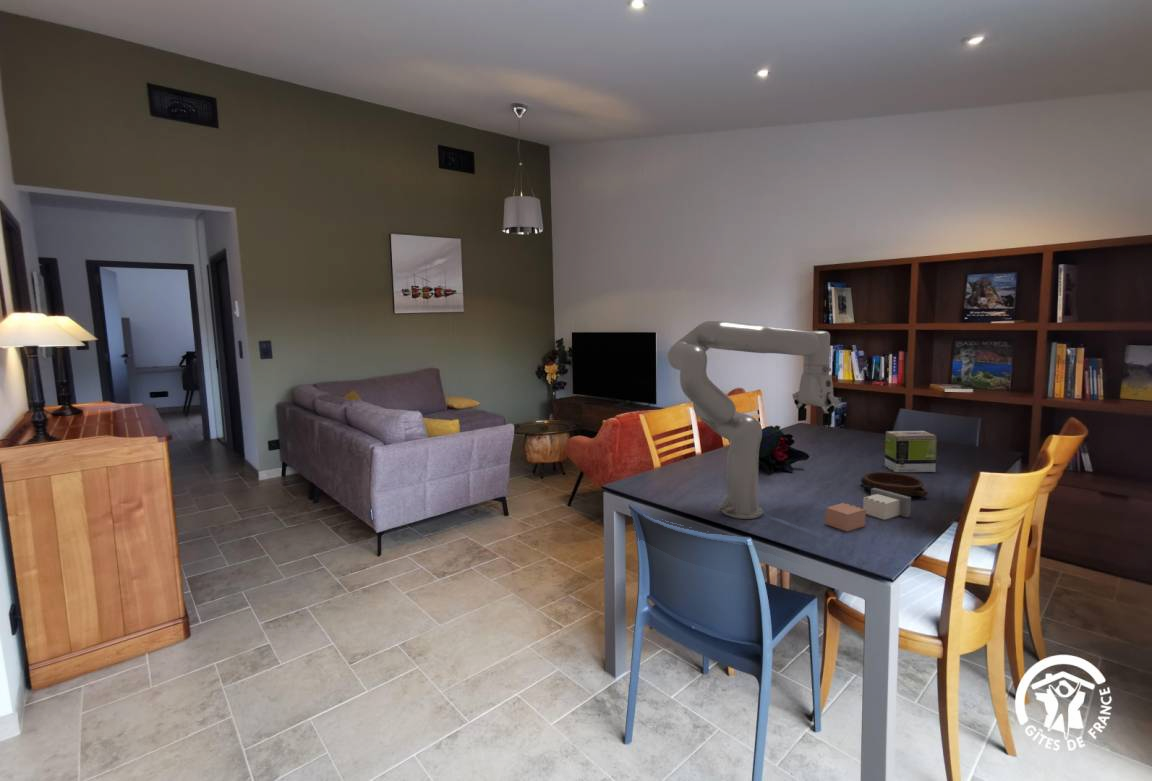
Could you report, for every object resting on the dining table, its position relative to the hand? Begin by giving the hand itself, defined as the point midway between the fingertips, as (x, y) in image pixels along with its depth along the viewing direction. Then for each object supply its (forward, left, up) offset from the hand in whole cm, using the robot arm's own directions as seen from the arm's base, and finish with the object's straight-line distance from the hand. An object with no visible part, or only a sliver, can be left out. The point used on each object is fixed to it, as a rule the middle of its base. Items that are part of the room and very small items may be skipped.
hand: (814, 422), depth 183 cm
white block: (+10, -19, -27) cm, 35 cm away
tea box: (+66, +7, -28) cm, 72 cm away
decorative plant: (+23, +35, -28) cm, 50 cm away
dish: (+34, -6, -28) cm, 44 cm away
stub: (-9, -19, -26) cm, 34 cm away
